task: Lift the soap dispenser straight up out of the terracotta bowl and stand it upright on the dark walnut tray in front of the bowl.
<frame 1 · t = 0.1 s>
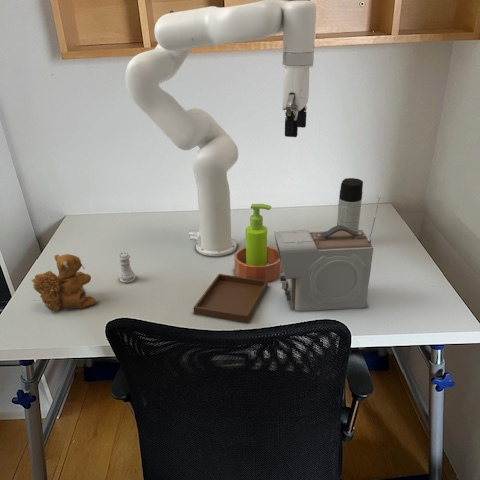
hand: (295, 131, 140), 37 cm above the table, tool pointing down, fingers open, 9 cm apart
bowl: (258, 271, 154), on the table
rook chess piece: (127, 280, 151), on the table
soap dispenser: (258, 271, 154), resting in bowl
stuffed squirrel: (68, 304, 141), on the table
tray: (232, 300, 141), on the table
spray can: (345, 244, 167), on the table
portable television: (320, 301, 140), on the table
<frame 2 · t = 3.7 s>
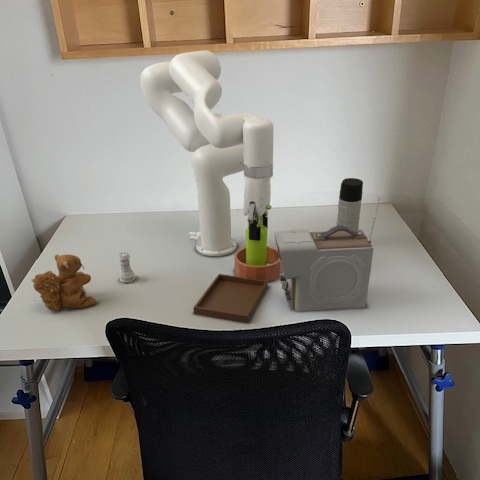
hand: (258, 234, 147), 12 cm above the table, tool pointing down, fingers closed on soap dispenser, 5 cm apart
soap dispenser: (258, 271, 154), resting in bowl, touching gripper
everything else where it was.
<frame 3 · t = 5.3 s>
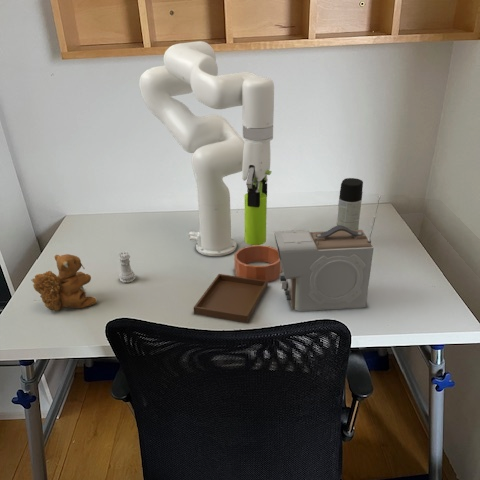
hand: (257, 201, 142), 21 cm above the table, tool pointing down, fingers closed on soap dispenser, 5 cm apart
soap dispenser: (257, 241, 149), point 9 cm above the table, touching gripper
everything else where it was.
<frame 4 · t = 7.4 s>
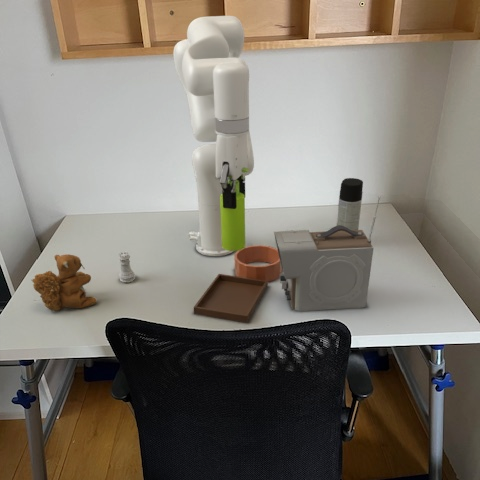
hand: (234, 202, 128), 26 cm above the table, tool pointing down, fingers closed on soap dispenser, 5 cm apart
soap dispenser: (235, 246, 135), point 14 cm above the table, touching gripper
everything else where it was.
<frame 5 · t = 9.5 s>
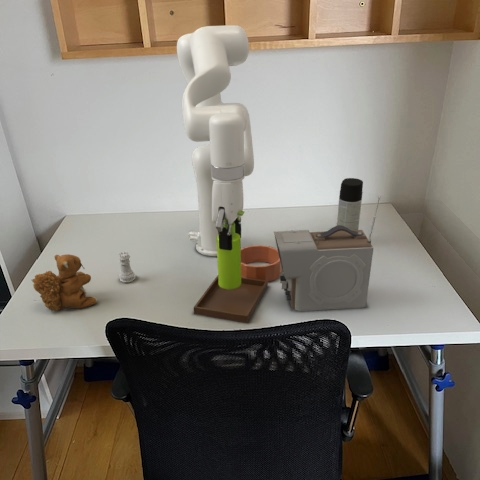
hand: (230, 242, 132), 16 cm above the table, tool pointing down, fingers closed on soap dispenser, 5 cm apart
soap dispenser: (231, 284, 138), point 5 cm above the table, touching gripper
everything else where it was.
when the fingers open (12 cm above the table, at t = 11.1 s): soap dispenser stays where it is, resting on tray.
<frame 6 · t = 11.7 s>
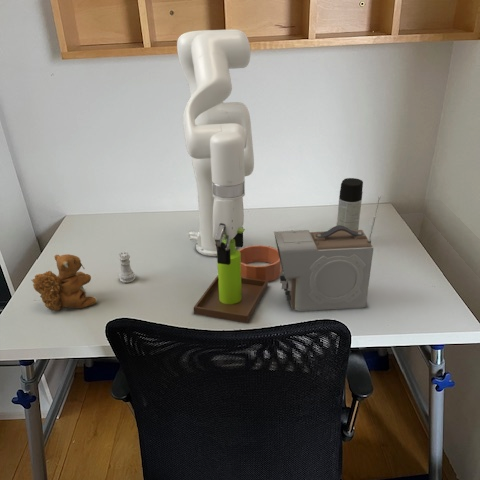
hand: (230, 254, 133), 13 cm above the table, tool pointing down, fingers open, 9 cm apart
soap dispenser: (232, 299, 141), resting on tray
everything else where it was.
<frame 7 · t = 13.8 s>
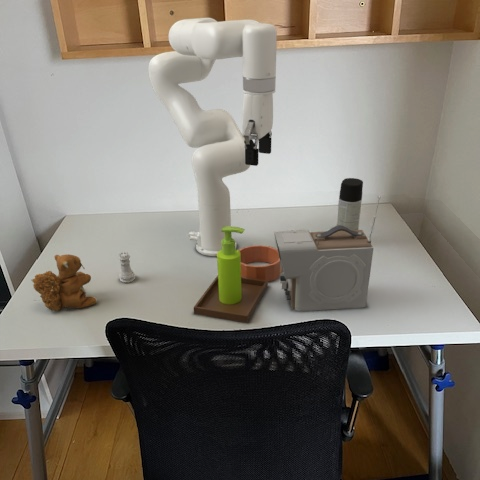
hand: (258, 158, 133), 33 cm above the table, tool pointing down, fingers open, 9 cm apart
nothing on the table moved.
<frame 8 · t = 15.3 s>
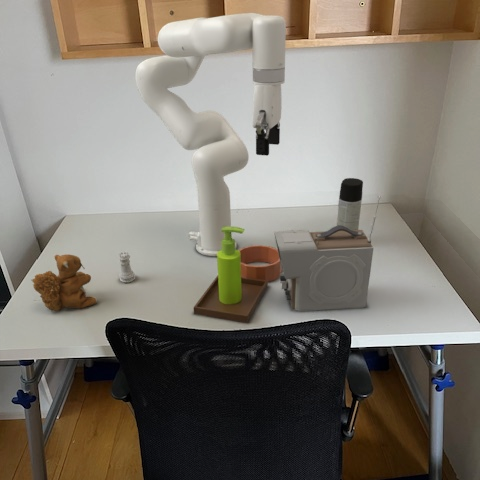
hand: (268, 149, 136), 34 cm above the table, tool pointing down, fingers open, 9 cm apart
nothing on the table moved.
at the end: soap dispenser inside the target area in the tray (0.0 cm from its centre), point 0.2 cm above the tray's base; soap dispenser tilted 0°; the gripper is holding nothing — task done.
